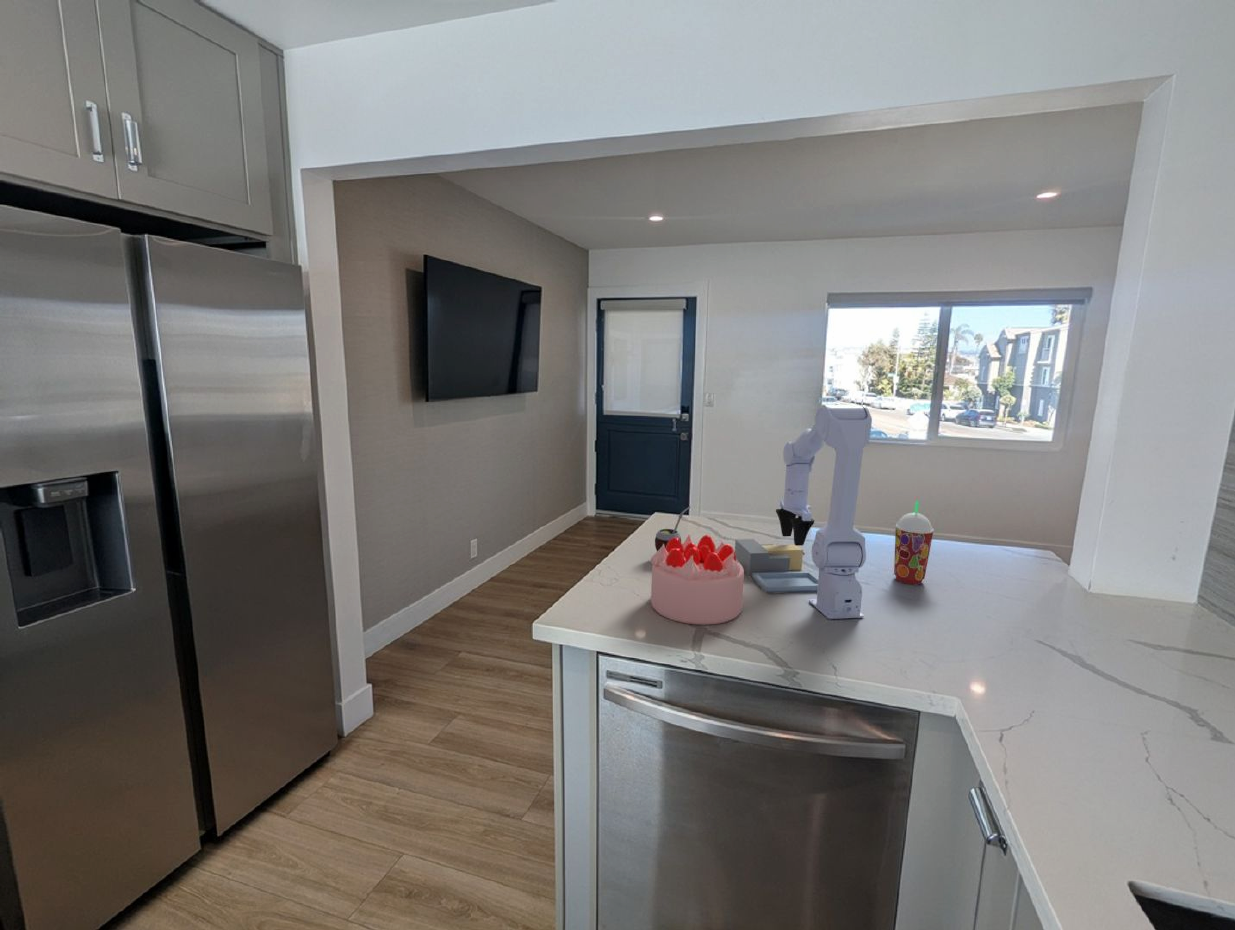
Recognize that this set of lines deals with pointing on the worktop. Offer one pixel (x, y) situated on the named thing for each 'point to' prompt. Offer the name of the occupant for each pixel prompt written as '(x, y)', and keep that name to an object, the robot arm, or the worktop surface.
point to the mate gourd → (667, 534)
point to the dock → (759, 558)
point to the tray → (787, 581)
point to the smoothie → (912, 547)
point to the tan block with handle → (788, 554)
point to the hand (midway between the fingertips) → (792, 540)
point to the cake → (697, 582)
